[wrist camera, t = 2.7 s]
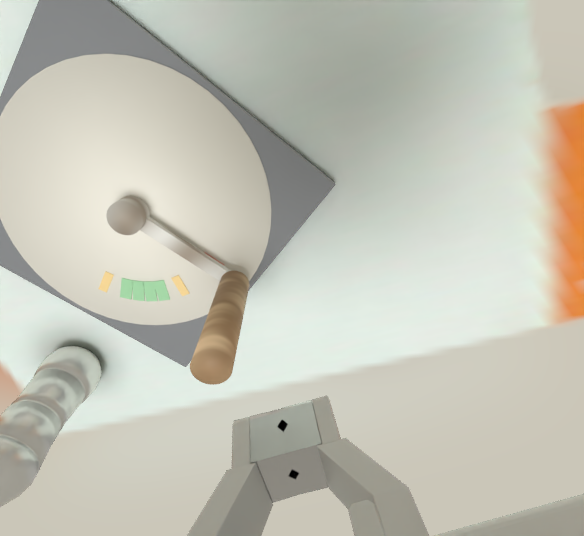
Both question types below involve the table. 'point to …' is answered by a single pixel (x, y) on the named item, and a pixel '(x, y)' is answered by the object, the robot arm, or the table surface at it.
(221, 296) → the needle lever
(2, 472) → the plastic bottle
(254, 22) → the table surface
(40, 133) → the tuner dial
